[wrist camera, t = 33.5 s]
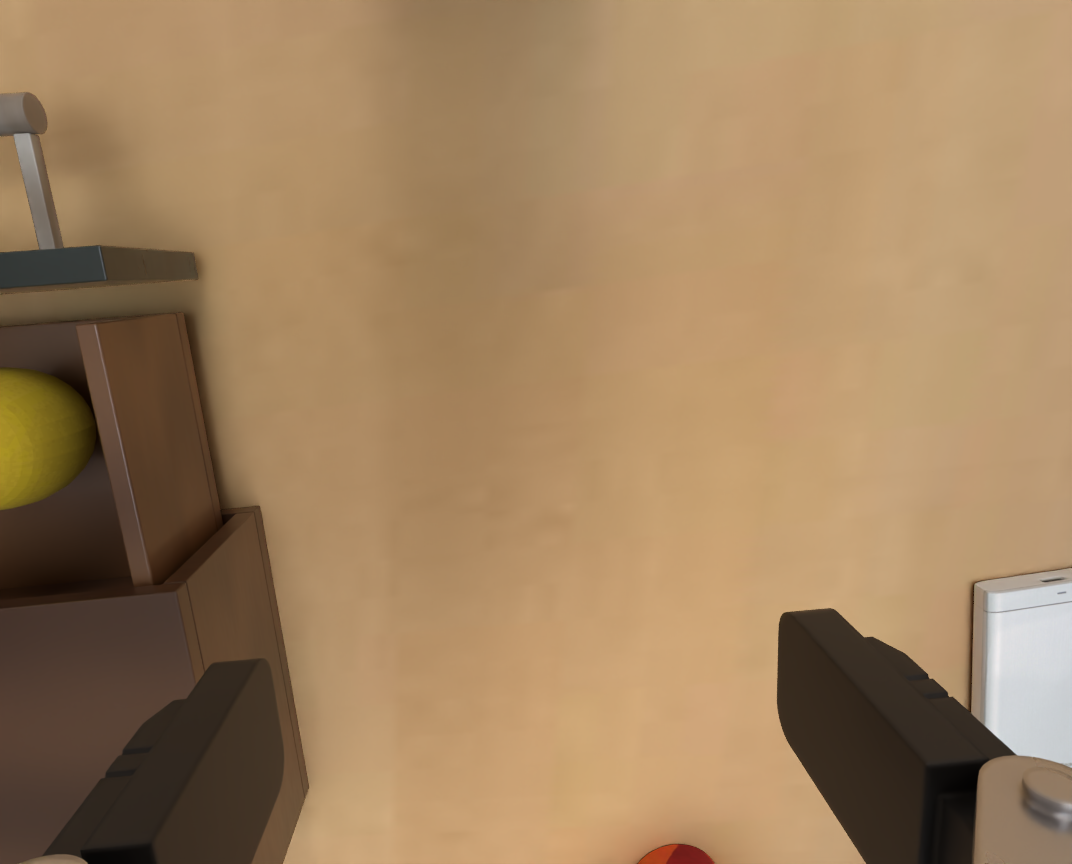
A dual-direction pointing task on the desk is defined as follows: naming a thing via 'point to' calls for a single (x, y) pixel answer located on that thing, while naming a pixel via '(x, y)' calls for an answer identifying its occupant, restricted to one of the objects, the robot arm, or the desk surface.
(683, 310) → the desk surface
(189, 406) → the drawer
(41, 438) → the lemon
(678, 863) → the paper cup
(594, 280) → the desk surface
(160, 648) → the cabinet
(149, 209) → the desk surface
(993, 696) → the hard drive
